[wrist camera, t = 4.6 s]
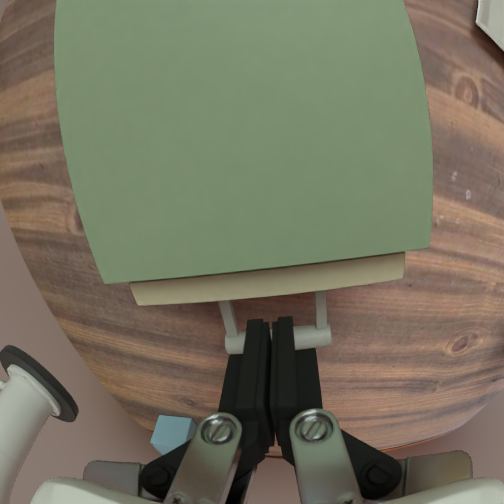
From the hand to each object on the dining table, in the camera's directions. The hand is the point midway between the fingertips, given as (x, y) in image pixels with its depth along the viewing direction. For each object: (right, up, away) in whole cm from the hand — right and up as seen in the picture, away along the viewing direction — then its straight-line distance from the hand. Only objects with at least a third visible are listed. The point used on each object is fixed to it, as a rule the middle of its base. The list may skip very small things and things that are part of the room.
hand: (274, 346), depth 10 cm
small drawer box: (-1, +13, +4) cm, 14 cm away
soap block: (-10, -18, +19) cm, 28 cm away
